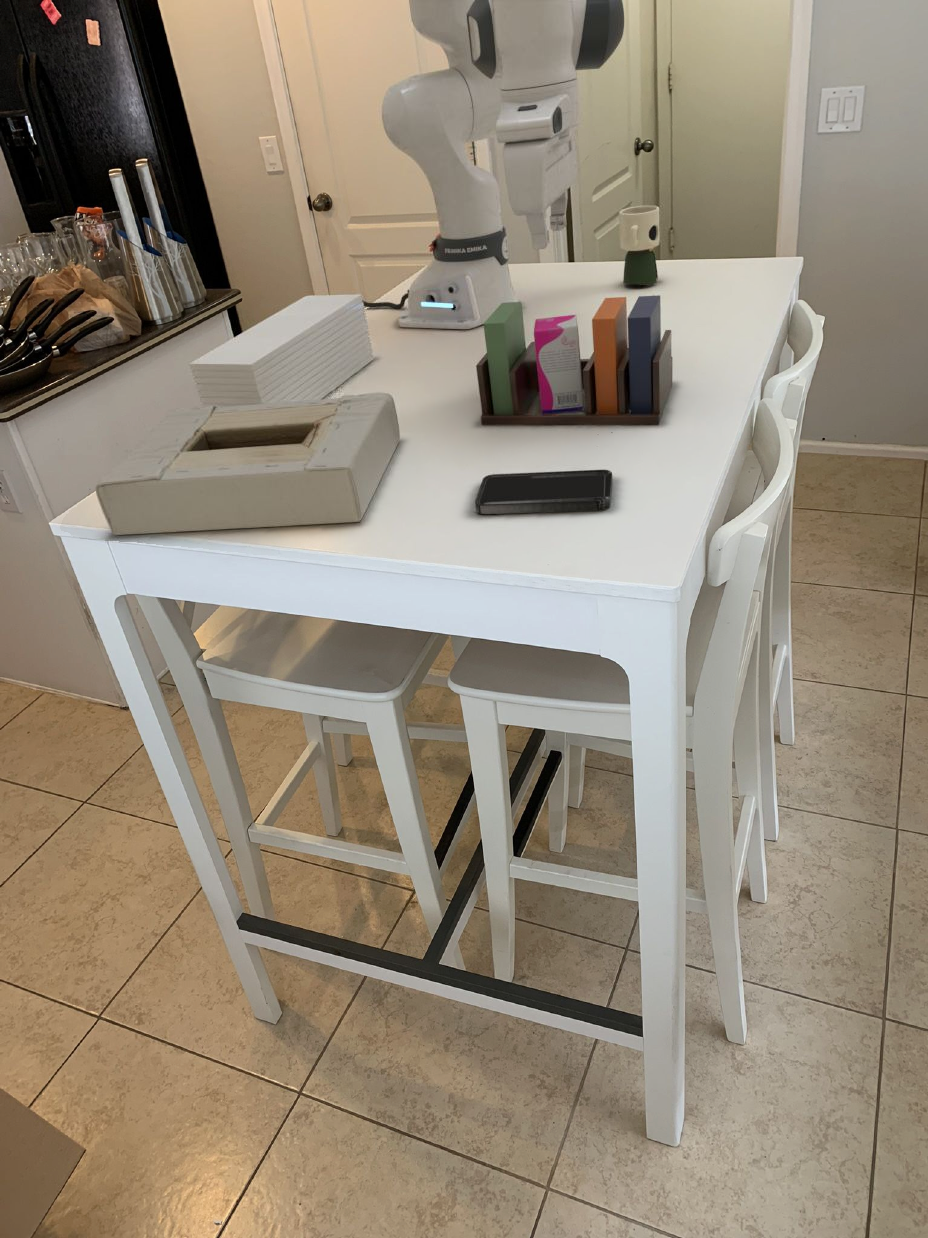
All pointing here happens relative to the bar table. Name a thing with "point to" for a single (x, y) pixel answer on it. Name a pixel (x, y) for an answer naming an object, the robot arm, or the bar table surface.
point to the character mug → (639, 243)
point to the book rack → (528, 387)
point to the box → (254, 466)
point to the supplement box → (558, 364)
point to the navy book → (643, 351)
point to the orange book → (609, 351)
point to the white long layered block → (288, 355)
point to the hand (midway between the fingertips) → (550, 238)
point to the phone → (545, 492)
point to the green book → (504, 351)
